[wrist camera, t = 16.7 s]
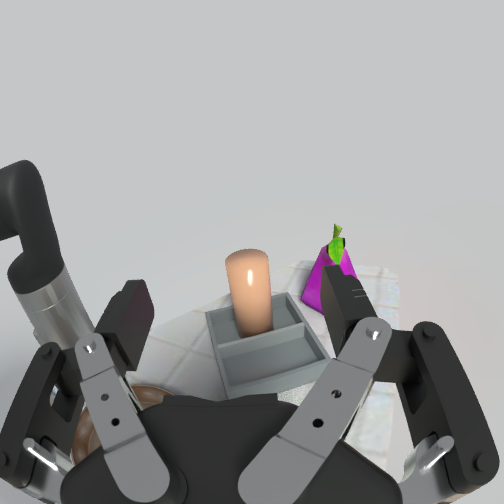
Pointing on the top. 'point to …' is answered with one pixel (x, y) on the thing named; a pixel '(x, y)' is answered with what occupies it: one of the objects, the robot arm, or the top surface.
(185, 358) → the top surface
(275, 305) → the divided storage tray
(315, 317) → the top surface
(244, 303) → the peach pillar candle
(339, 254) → the pear
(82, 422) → the object
